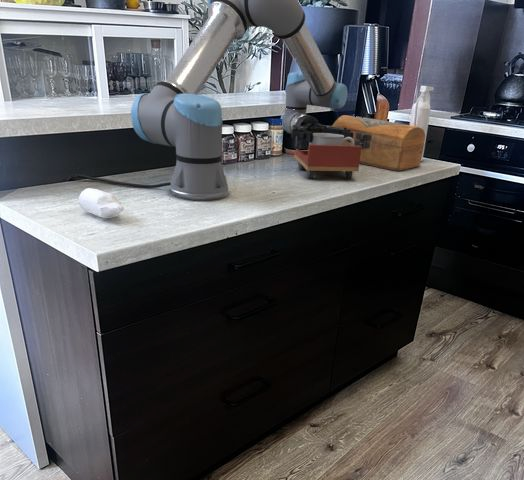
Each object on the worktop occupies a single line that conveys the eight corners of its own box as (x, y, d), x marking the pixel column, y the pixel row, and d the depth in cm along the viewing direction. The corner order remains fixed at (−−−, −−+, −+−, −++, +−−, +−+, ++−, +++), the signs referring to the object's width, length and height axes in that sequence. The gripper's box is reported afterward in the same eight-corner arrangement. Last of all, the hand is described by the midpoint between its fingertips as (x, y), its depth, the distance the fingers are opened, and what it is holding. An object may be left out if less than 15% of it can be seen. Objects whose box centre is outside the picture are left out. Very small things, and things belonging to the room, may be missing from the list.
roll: (110, 226, 112) (107, 200, 109) (79, 213, 119) (76, 189, 116) (133, 221, 116) (131, 196, 113) (102, 209, 123) (99, 185, 120)
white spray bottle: (395, 161, 192) (408, 85, 179) (410, 157, 200) (424, 84, 187) (412, 164, 188) (427, 87, 176) (426, 160, 196) (441, 86, 184)
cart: (306, 180, 158) (309, 145, 153) (293, 167, 174) (296, 134, 169) (356, 181, 161) (361, 146, 155) (339, 168, 177) (343, 135, 171)
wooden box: (325, 157, 192) (329, 116, 185) (351, 152, 202) (356, 113, 195) (395, 172, 174) (403, 128, 167) (420, 166, 185) (428, 124, 178)
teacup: (302, 161, 162) (304, 133, 158) (313, 156, 170) (316, 129, 166) (345, 167, 157) (349, 139, 153) (354, 161, 166) (358, 134, 162)
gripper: (337, 138, 182) (366, 150, 165) (269, 138, 174) (292, 151, 157) (339, 115, 178) (369, 124, 161) (271, 114, 171) (295, 124, 154)
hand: (331, 137), depth 159 cm, fingers open, 13 cm apart
